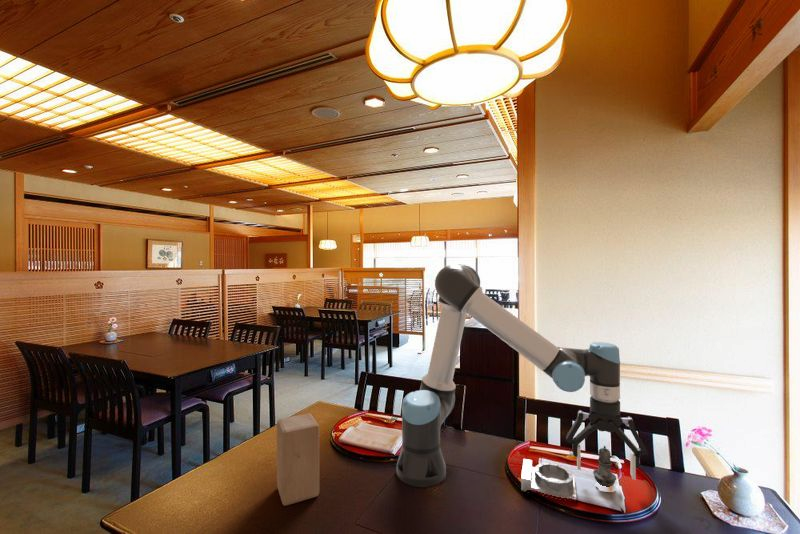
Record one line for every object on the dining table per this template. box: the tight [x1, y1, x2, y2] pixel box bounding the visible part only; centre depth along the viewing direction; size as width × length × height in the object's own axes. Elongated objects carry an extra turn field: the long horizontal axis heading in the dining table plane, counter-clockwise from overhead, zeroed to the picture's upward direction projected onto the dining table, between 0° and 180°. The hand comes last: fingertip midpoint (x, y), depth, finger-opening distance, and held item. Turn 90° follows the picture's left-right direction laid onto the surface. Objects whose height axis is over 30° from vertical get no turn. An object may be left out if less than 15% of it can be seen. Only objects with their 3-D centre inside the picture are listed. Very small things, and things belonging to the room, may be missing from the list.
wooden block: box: [276, 413, 320, 506], centre depth 101 cm, size 10×10×20 cm
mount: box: [520, 458, 577, 499], centre depth 104 cm, size 14×11×4 cm
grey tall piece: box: [592, 445, 617, 487], centre depth 103 cm, size 6×6×12 cm
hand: (605, 472), depth 103 cm, fingers open, 13 cm apart
